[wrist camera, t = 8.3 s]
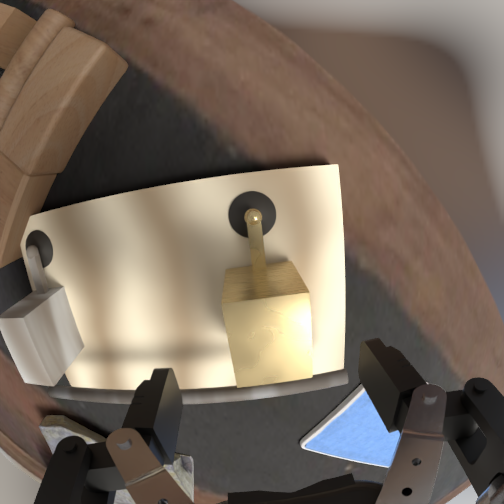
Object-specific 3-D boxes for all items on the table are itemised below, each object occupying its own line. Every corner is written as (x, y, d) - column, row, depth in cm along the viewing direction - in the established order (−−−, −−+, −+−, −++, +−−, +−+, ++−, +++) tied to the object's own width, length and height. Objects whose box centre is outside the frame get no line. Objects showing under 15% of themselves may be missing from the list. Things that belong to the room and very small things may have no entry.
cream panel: (83, 387, 22) (53, 435, 16) (26, 217, 18) (-32, 235, 12) (337, 369, 23) (364, 426, 16) (330, 164, 18) (375, 162, 12)
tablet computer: (466, 403, 27) (470, 408, 25) (398, 465, 29) (401, 471, 28) (383, 353, 23) (389, 361, 22) (294, 439, 26) (296, 448, 24)
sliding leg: (237, 339, 19) (237, 387, 15) (217, 211, 17) (208, 226, 12) (296, 331, 19) (312, 377, 15) (285, 203, 17) (304, 214, 12)
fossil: (194, 431, 26) (43, 401, 23) (192, 466, 21) (28, 428, 19) (194, 503, 31) (84, 483, 29) (194, 527, 27) (78, 505, 24)
